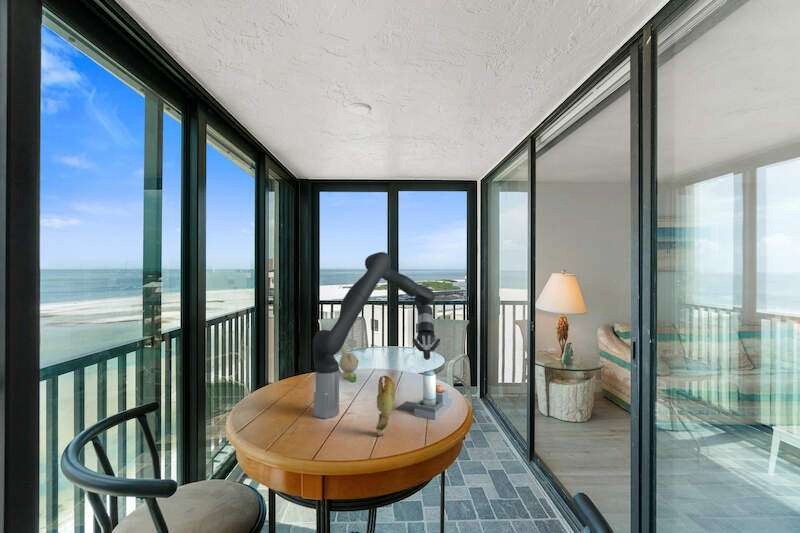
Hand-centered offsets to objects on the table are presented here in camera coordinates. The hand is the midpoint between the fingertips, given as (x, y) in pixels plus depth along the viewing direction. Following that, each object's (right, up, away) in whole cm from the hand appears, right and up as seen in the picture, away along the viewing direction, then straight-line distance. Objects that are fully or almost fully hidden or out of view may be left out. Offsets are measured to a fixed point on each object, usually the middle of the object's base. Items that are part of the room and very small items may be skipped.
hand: (427, 358), depth 152 cm
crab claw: (-17, -19, -30) cm, 39 cm away
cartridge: (0, -16, -11) cm, 20 cm away
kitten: (-39, -21, +38) cm, 58 cm away
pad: (-7, -19, -4) cm, 21 cm away
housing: (+2, -19, -8) cm, 21 cm away
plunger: (+5, -13, -3) cm, 15 cm away
